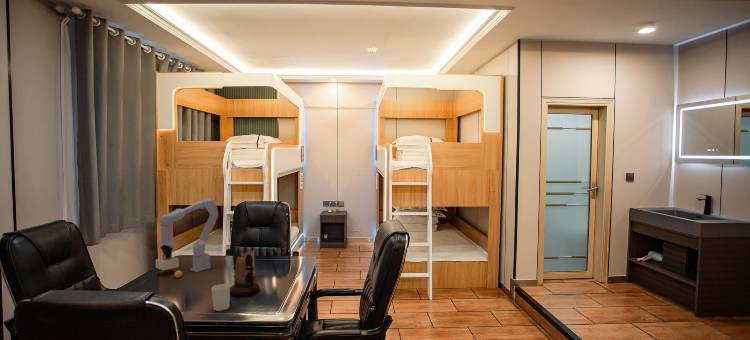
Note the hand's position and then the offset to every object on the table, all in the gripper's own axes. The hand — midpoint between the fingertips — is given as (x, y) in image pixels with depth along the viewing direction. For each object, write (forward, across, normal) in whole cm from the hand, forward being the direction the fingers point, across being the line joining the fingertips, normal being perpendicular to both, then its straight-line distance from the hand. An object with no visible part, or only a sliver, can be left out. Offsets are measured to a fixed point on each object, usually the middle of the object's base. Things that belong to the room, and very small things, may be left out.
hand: (167, 257), depth 222 cm
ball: (+8, +12, 0) cm, 14 cm away
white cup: (+10, +72, -11) cm, 73 cm away
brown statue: (+10, +64, +7) cm, 65 cm away
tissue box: (+6, 0, 0) cm, 6 cm away
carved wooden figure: (+10, +50, +21) cm, 55 cm away
